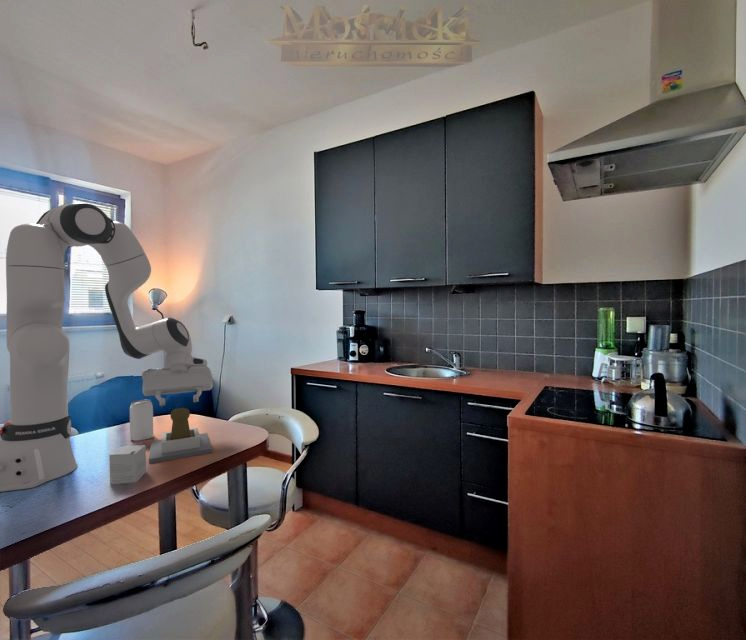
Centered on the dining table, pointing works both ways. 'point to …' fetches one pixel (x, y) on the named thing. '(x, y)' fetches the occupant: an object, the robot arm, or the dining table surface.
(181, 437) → the brown flared peg
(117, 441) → the dining table surface
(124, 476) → the skincare box
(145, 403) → the can
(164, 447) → the grey socket base
